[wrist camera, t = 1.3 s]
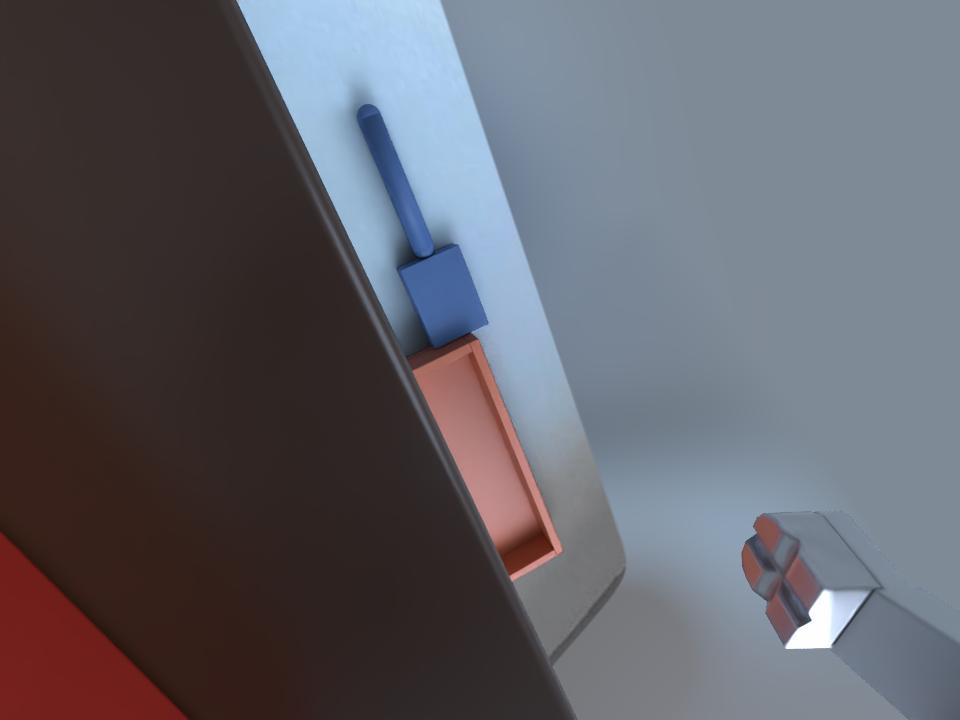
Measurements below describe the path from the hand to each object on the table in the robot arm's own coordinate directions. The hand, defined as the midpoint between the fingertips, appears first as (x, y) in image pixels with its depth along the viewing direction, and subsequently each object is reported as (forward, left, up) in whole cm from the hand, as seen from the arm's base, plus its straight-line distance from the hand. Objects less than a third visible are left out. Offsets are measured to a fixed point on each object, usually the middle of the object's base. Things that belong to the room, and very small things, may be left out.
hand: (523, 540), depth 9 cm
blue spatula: (-4, -5, -21) cm, 22 cm away
